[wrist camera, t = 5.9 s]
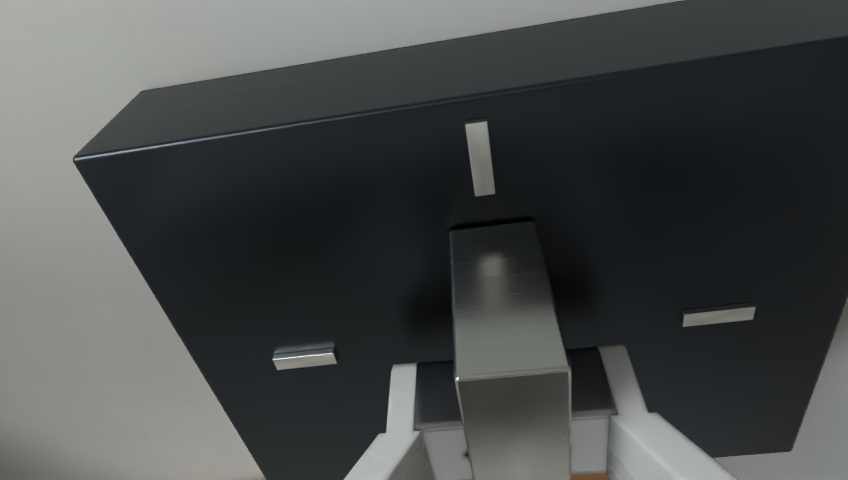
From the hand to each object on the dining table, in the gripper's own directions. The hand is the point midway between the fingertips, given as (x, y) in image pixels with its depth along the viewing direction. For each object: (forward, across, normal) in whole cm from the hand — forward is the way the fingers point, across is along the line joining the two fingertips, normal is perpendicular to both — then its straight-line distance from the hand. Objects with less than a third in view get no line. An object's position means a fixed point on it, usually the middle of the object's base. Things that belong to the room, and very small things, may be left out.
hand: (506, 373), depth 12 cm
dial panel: (+4, 0, 0) cm, 4 cm away
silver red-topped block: (+1, 0, 0) cm, 1 cm away
